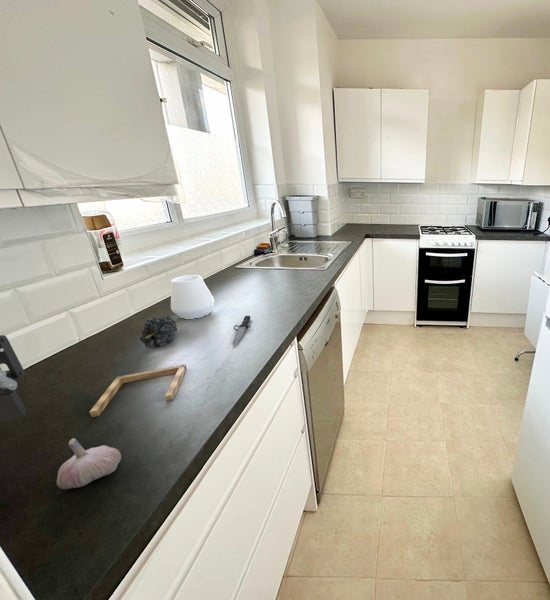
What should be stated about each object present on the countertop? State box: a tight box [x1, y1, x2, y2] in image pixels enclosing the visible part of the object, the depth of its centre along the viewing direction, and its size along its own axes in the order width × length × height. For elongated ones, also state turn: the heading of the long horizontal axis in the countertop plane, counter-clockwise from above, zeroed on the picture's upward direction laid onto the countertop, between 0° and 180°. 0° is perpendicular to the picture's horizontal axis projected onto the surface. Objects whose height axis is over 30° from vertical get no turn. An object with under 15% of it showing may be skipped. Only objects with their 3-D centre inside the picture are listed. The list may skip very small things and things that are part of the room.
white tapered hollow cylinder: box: [170, 274, 215, 319], centre depth 111 cm, size 13×13×14 cm
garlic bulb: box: [56, 438, 122, 490], centre depth 50 cm, size 8×7×8 cm
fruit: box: [139, 315, 178, 348], centre depth 95 cm, size 9×8×15 cm
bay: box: [89, 364, 188, 418], centre depth 73 cm, size 13×14×2 cm
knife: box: [231, 315, 252, 346], centre depth 100 cm, size 19×2×5 cm
